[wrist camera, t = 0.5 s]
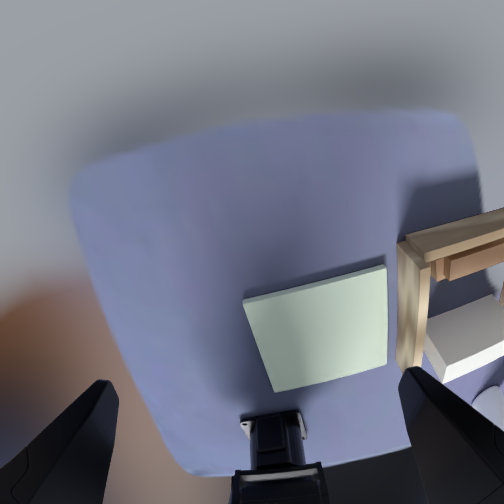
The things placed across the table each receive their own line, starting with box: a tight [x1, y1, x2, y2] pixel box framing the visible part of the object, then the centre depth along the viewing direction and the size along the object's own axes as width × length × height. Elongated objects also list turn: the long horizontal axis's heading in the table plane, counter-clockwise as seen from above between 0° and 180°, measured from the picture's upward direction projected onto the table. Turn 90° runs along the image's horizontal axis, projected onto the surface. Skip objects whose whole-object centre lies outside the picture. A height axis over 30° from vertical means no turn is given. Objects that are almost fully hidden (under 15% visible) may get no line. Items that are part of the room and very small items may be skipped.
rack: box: [396, 208, 504, 374], centre depth 23 cm, size 14×14×4 cm
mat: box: [243, 264, 388, 393], centre depth 26 cm, size 11×11×1 cm
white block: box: [423, 294, 504, 384], centre depth 24 cm, size 2×9×6 cm, turn 105°
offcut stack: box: [427, 237, 504, 282], centre depth 22 cm, size 2×8×3 cm, turn 107°
